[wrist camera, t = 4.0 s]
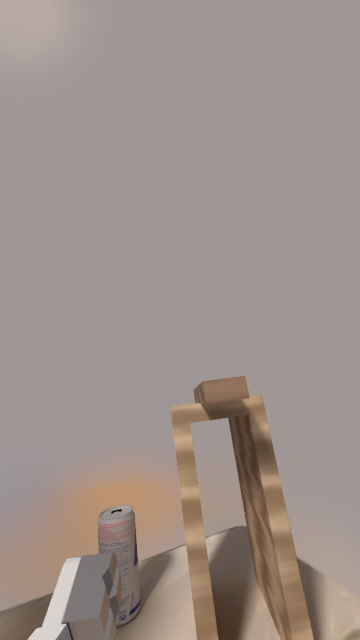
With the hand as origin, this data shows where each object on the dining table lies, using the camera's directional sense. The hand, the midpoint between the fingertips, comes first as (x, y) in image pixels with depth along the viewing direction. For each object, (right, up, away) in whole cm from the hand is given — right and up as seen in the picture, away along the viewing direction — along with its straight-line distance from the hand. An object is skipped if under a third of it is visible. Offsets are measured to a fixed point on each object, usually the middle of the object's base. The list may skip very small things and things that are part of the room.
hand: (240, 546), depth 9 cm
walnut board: (+2, -3, +25) cm, 25 cm away
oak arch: (+6, -29, +23) cm, 38 cm away
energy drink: (-10, -33, +28) cm, 44 cm away
